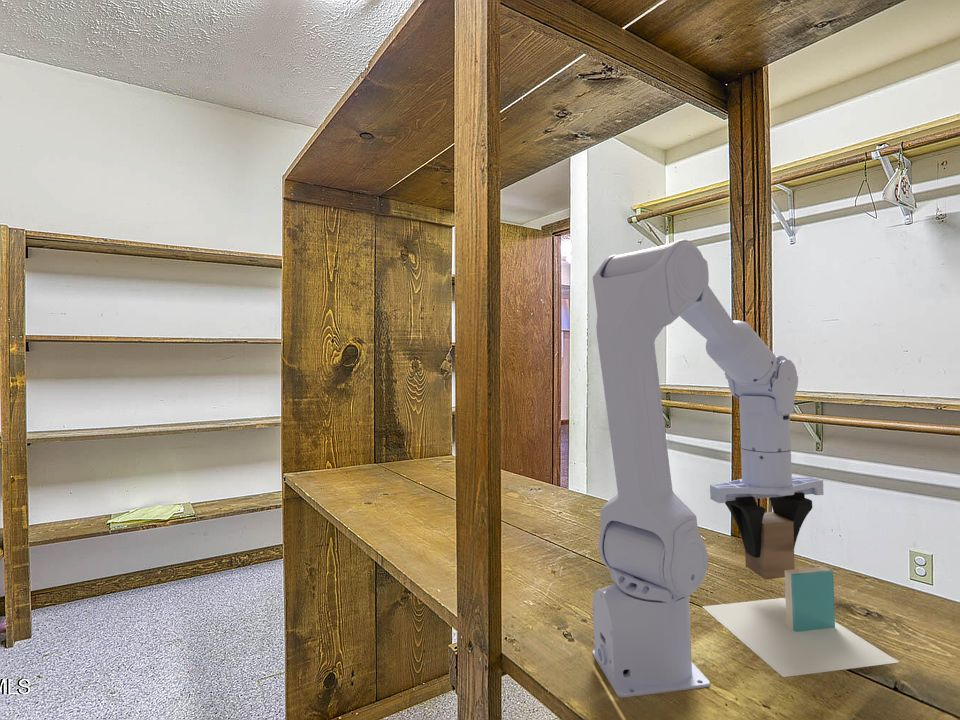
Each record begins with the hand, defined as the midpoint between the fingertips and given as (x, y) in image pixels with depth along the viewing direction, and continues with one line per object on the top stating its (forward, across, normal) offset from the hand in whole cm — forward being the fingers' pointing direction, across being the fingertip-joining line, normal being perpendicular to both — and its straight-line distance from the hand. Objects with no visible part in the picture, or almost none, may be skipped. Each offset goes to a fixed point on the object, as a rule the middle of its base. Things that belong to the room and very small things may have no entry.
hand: (768, 553), depth 69 cm
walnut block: (+2, 0, 0) cm, 2 cm away
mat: (+6, -3, -8) cm, 10 cm away
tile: (+6, 0, -7) cm, 9 cm away
